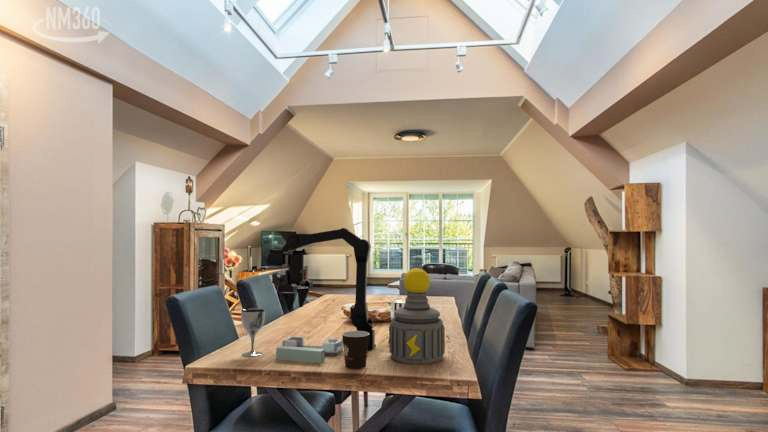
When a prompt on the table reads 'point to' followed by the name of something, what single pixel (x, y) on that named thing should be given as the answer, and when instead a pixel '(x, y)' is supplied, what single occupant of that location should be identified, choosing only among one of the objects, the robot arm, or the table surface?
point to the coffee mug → (355, 349)
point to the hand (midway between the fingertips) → (295, 309)
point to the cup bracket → (330, 348)
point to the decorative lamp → (416, 325)
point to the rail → (300, 354)
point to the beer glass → (396, 306)
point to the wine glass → (252, 326)
